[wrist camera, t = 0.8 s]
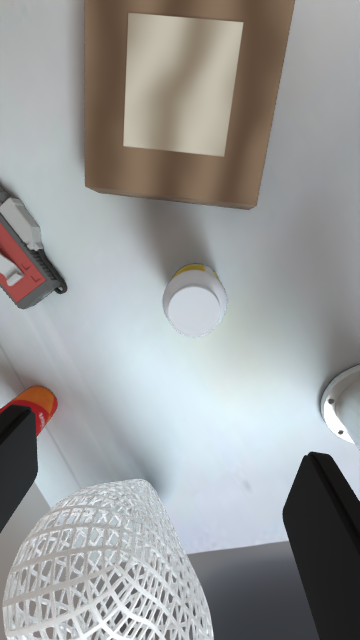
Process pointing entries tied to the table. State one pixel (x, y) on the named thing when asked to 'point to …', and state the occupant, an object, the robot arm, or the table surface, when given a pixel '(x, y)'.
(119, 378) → the table surface
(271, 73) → the stand
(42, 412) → the paper cup
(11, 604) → the heart
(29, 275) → the walkie-talkie
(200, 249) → the table surface
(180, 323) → the pill bottle
